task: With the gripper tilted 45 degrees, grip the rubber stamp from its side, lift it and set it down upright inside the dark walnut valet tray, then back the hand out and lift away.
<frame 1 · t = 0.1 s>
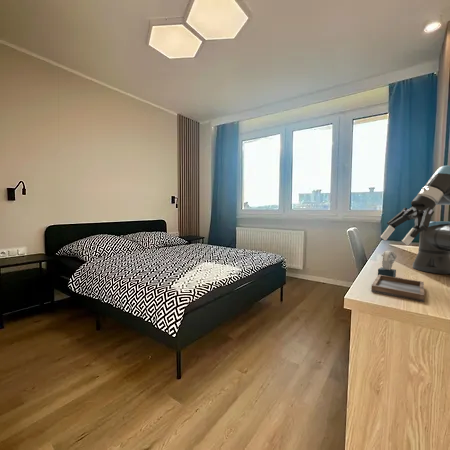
hand: (393, 240, 102), 15 cm above the table, tool tilted 35°, fingers open, 13 cm apart
valet tray: (397, 289, 86), on the table
rubber stamp: (386, 277, 103), on the table
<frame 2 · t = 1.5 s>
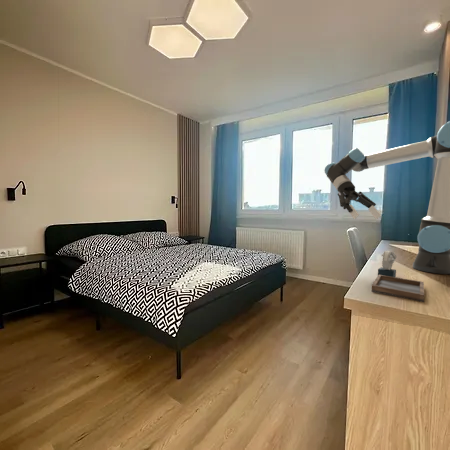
hand: (367, 217, 112), 25 cm above the table, tool tilted 45°, fingers open, 13 cm apart
nothing on the table moved.
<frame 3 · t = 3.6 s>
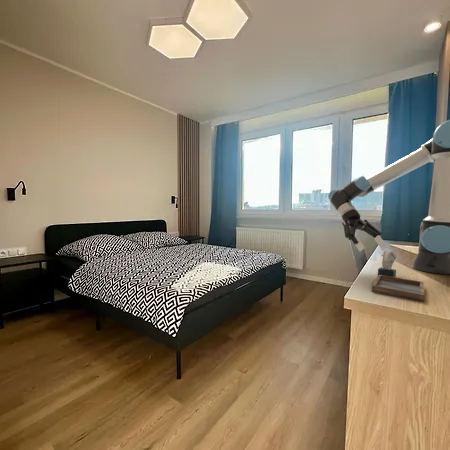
hand: (373, 249, 108), 11 cm above the table, tool tilted 45°, fingers open, 13 cm apart
nothing on the table moved.
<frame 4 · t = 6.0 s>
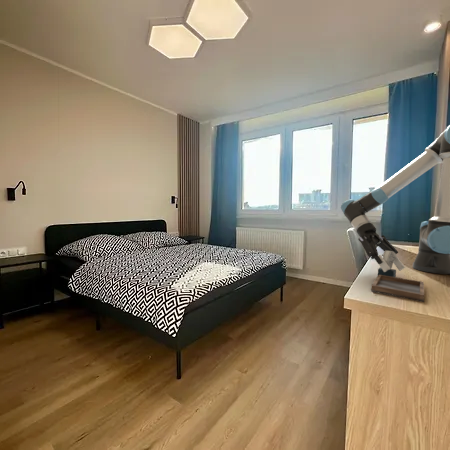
hand: (394, 269, 100), 4 cm above the table, tool tilted 45°, fingers closed on rubber stamp, 8 cm apart
rubber stamp: (386, 276, 103), on the table, touching gripper
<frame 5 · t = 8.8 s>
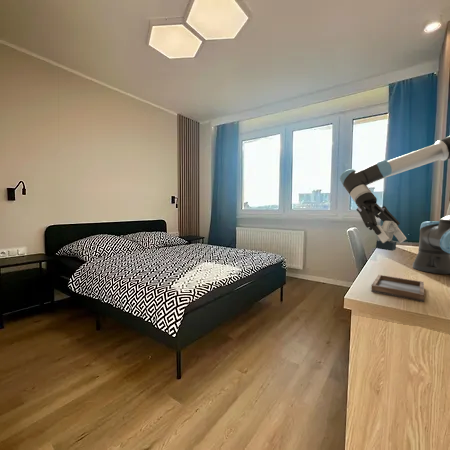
hand: (394, 240, 92), 17 cm above the table, tool tilted 45°, fingers closed on rubber stamp, 8 cm apart
rubber stamp: (385, 249, 95), point 13 cm above the table, touching gripper
when the fingers open (6 cm above the table, at t = 11.8 s): rubber stamp drops 1 cm, resting on valet tray.
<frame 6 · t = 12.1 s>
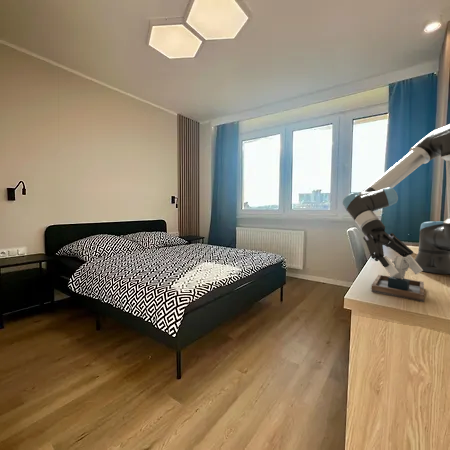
hand: (407, 273, 83), 7 cm above the table, tool tilted 45°, fingers open, 11 cm apart
rubber stamp: (398, 287, 86), point 1 cm above the table, touching valet tray
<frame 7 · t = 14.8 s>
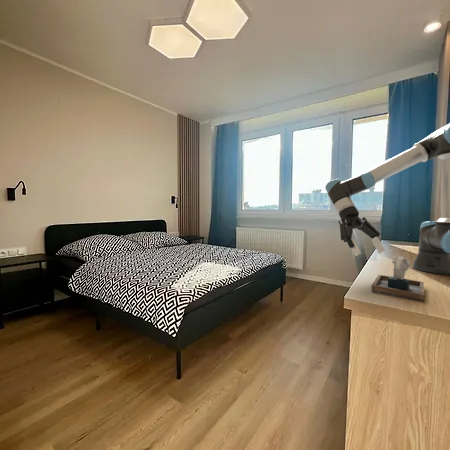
hand: (370, 253, 99), 10 cm above the table, tool tilted 35°, fingers open, 13 cm apart
nothing on the table moved.
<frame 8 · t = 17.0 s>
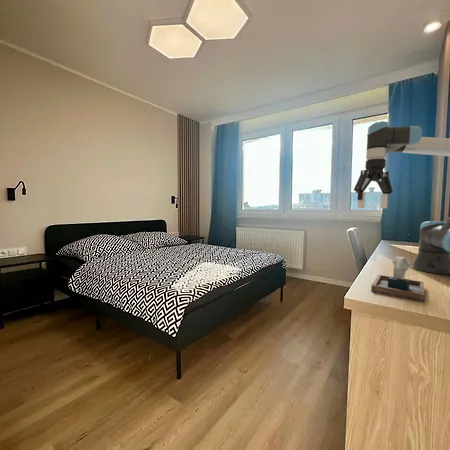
hand: (372, 208, 108), 29 cm above the table, tool pointing down, fingers open, 13 cm apart
nothing on the table moved.
at the end: rubber stamp inside the target area on the valet tray (0.1 cm from its centre), point 0.6 cm above the valet tray's base; rubber stamp tilted 0°; the gripper is holding nothing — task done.
